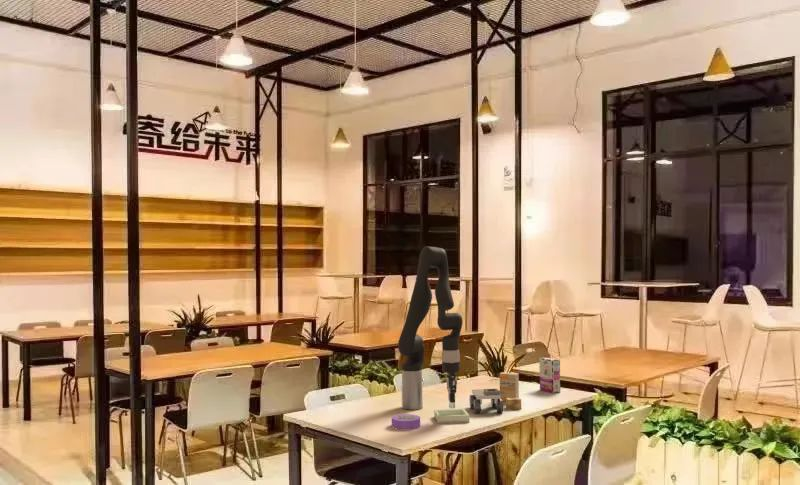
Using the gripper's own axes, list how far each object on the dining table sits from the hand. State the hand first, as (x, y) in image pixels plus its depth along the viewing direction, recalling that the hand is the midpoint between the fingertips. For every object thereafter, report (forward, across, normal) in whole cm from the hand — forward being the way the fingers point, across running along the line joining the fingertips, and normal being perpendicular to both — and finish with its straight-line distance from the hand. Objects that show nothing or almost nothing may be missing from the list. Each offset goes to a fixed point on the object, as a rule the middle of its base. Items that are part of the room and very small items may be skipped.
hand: (451, 401), depth 285 cm
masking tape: (+8, +8, -20) cm, 23 cm away
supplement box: (+8, -33, +33) cm, 47 cm away
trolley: (+8, -15, +18) cm, 24 cm away
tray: (+8, 0, 0) cm, 8 cm away
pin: (+3, 0, 0) cm, 3 cm away
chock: (+8, -17, +31) cm, 36 cm away
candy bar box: (+8, -53, +59) cm, 80 cm away
